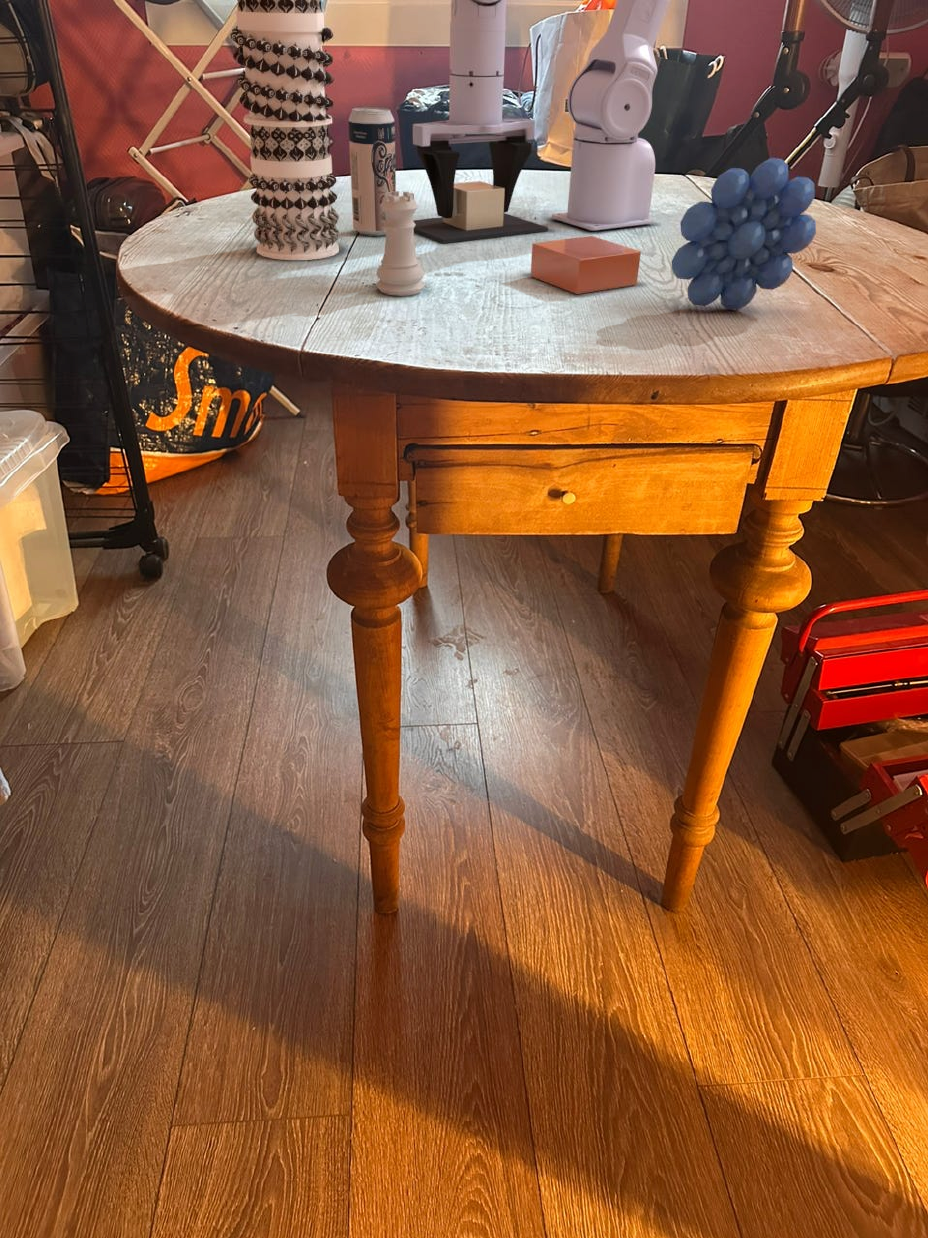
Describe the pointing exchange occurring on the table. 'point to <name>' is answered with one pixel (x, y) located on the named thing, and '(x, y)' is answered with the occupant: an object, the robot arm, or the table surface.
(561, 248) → the glossy orange square block
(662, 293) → the table surface
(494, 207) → the beige cube
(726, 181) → the blue beaded flower
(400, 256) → the rook chess piece
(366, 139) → the beer can
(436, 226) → the rubber mat
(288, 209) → the decorative candle
